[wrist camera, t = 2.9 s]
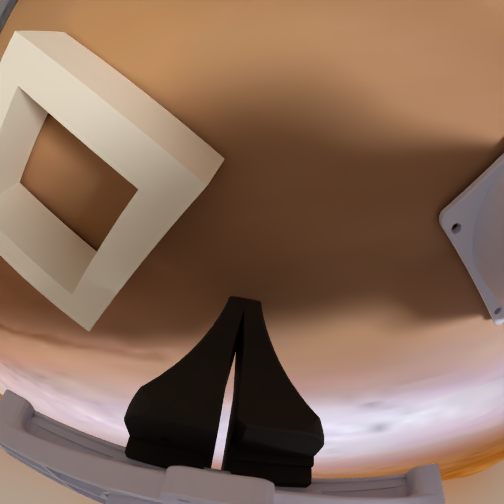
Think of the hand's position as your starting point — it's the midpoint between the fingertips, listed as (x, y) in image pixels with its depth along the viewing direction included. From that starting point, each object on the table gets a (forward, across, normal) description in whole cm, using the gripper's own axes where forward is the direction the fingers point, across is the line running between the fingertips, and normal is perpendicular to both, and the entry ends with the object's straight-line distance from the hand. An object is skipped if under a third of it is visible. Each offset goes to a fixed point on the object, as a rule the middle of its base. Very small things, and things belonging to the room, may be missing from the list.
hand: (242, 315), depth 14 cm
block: (+1, +8, -5) cm, 10 cm away
